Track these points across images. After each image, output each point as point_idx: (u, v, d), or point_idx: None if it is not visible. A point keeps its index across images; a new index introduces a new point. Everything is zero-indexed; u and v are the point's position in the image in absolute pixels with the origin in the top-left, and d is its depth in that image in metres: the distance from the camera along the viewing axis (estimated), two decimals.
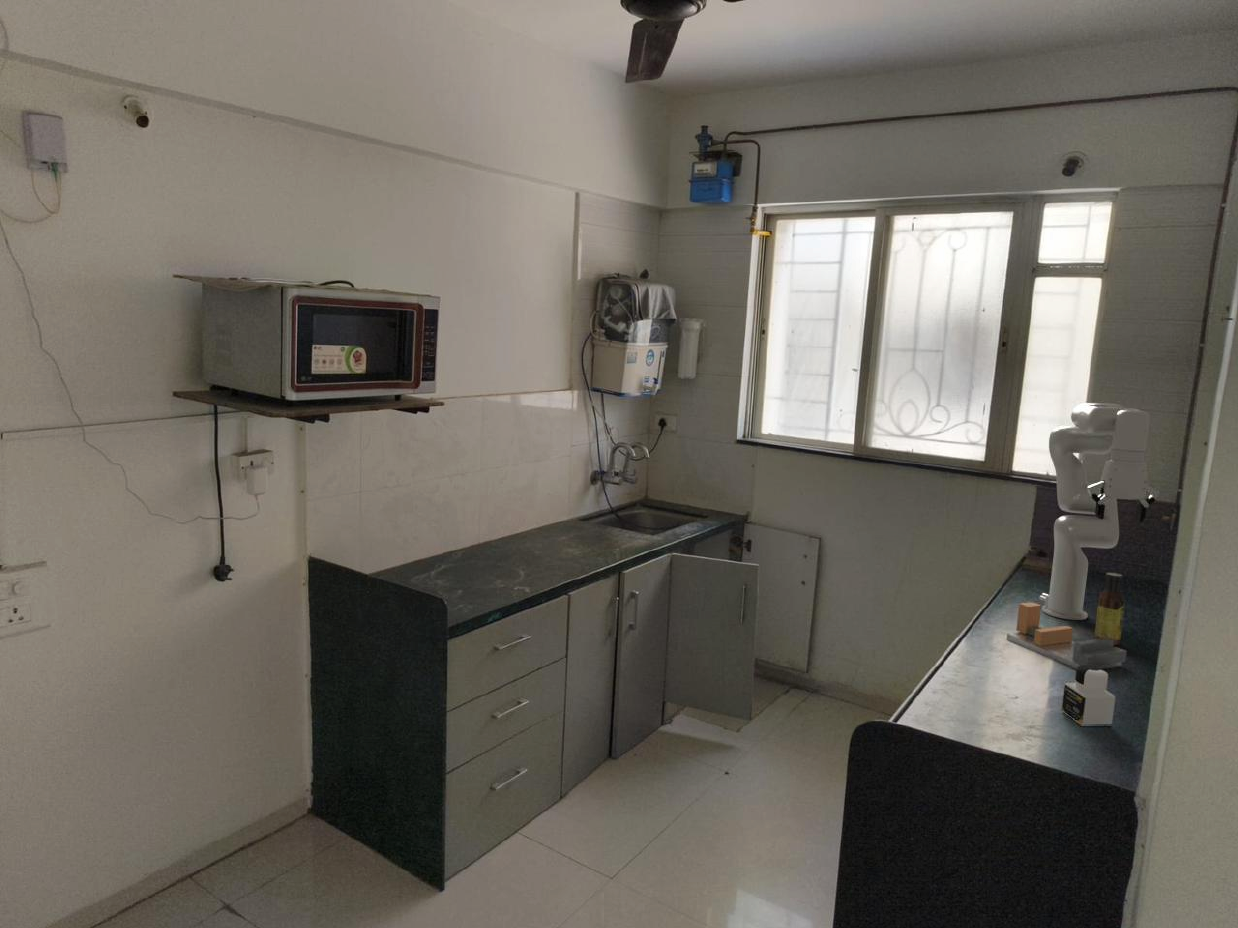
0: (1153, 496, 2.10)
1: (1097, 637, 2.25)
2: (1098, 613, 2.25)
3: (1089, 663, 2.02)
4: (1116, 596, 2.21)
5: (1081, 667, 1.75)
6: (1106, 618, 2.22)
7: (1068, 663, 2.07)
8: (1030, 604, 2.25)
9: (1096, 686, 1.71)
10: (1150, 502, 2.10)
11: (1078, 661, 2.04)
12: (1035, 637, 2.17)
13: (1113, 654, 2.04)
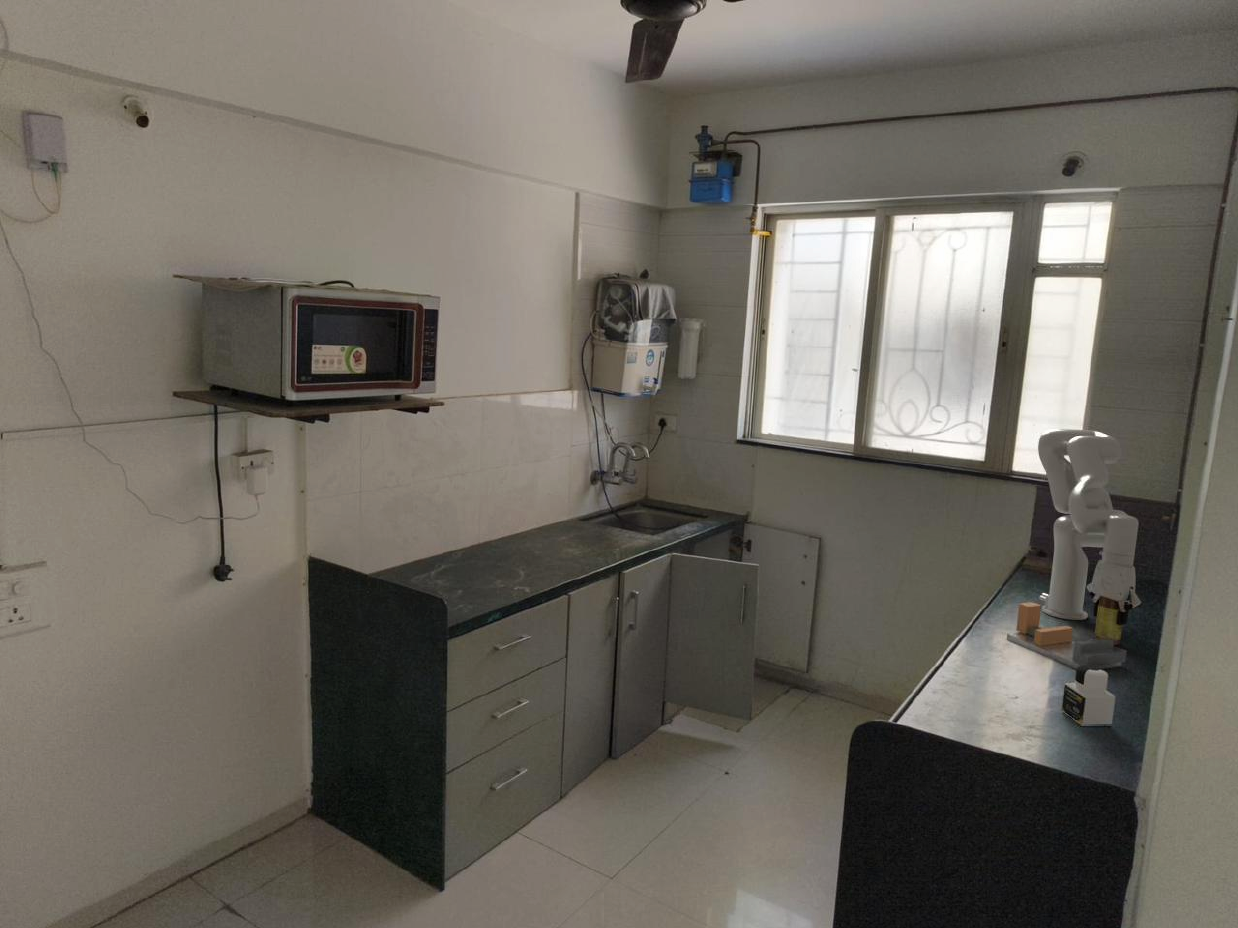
0: None
1: (1097, 637, 2.25)
2: (1098, 613, 2.25)
3: (1089, 663, 2.02)
4: None
5: (1081, 667, 1.75)
6: (1106, 618, 2.22)
7: (1068, 663, 2.07)
8: (1030, 604, 2.25)
9: (1096, 686, 1.71)
10: None
11: (1078, 661, 2.04)
12: (1035, 637, 2.17)
13: (1113, 654, 2.04)
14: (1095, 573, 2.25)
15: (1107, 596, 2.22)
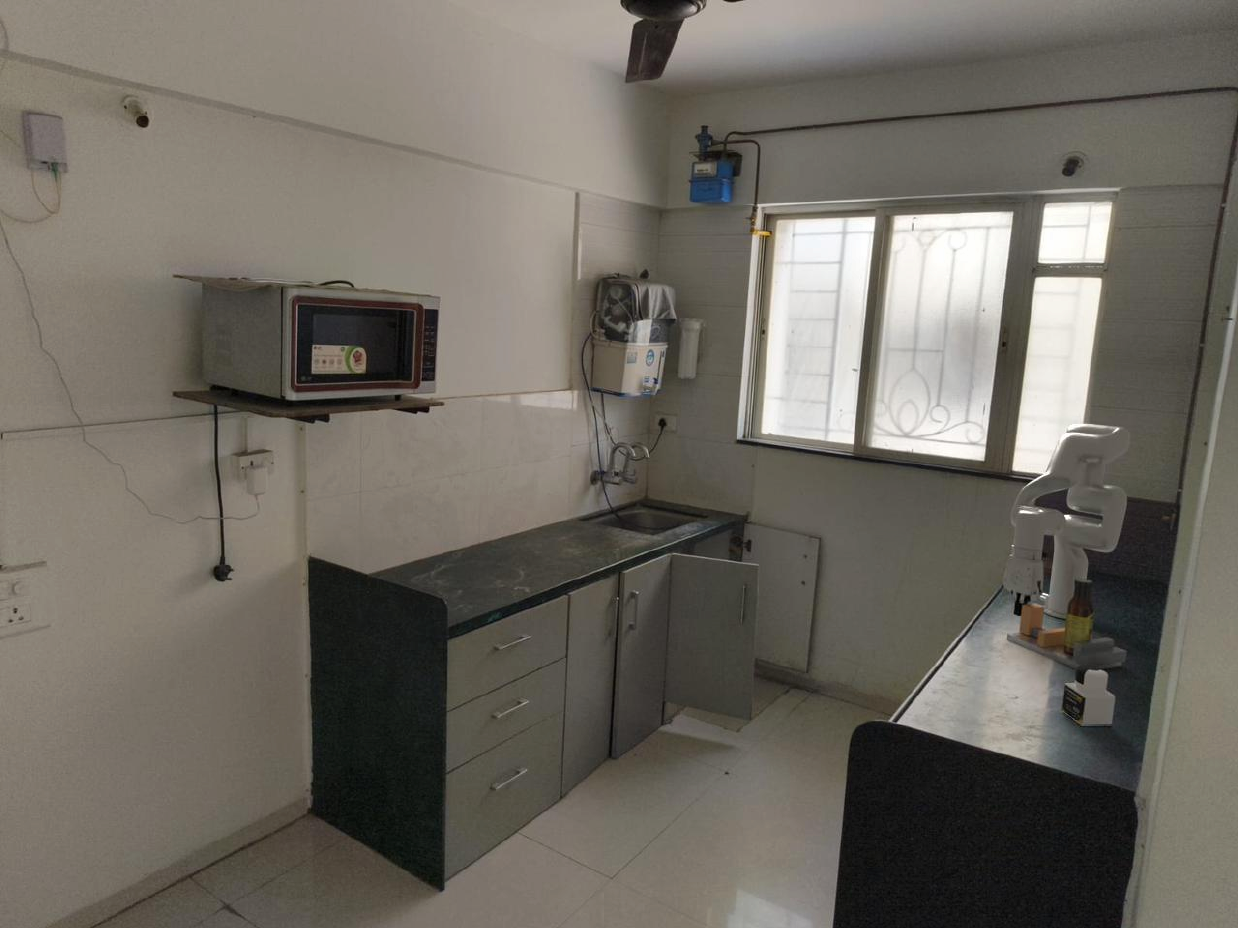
0: None
1: (1065, 647, 2.12)
2: (1066, 621, 2.12)
3: (1089, 663, 2.02)
4: (1085, 604, 2.08)
5: (1081, 667, 1.75)
6: (1074, 626, 2.09)
7: (1068, 663, 2.07)
8: (1033, 606, 2.24)
9: (1096, 686, 1.71)
10: None
11: (1078, 661, 2.04)
12: (1038, 638, 2.16)
13: (1113, 654, 2.04)
14: (1006, 567, 2.30)
15: (1016, 590, 2.26)
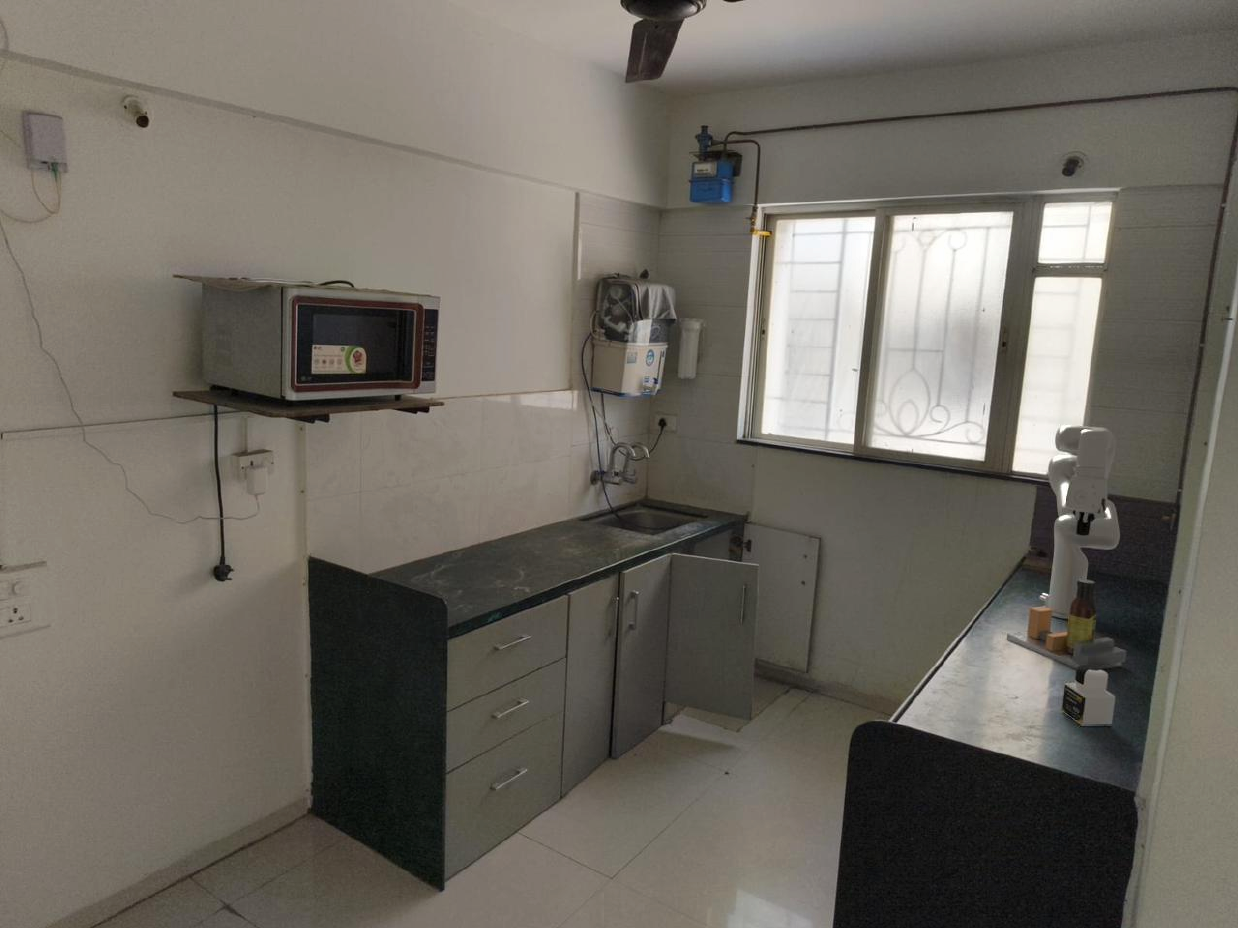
0: None
1: (1068, 648, 2.11)
2: (1069, 622, 2.11)
3: (1089, 663, 2.02)
4: (1087, 605, 2.08)
5: (1081, 667, 1.75)
6: (1077, 627, 2.09)
7: (1068, 663, 2.07)
8: (1041, 609, 2.22)
9: (1096, 686, 1.71)
10: None
11: (1078, 661, 2.04)
12: (1047, 642, 2.14)
13: (1113, 654, 2.04)
14: (1069, 488, 2.31)
15: (1080, 509, 2.27)
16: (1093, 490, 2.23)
